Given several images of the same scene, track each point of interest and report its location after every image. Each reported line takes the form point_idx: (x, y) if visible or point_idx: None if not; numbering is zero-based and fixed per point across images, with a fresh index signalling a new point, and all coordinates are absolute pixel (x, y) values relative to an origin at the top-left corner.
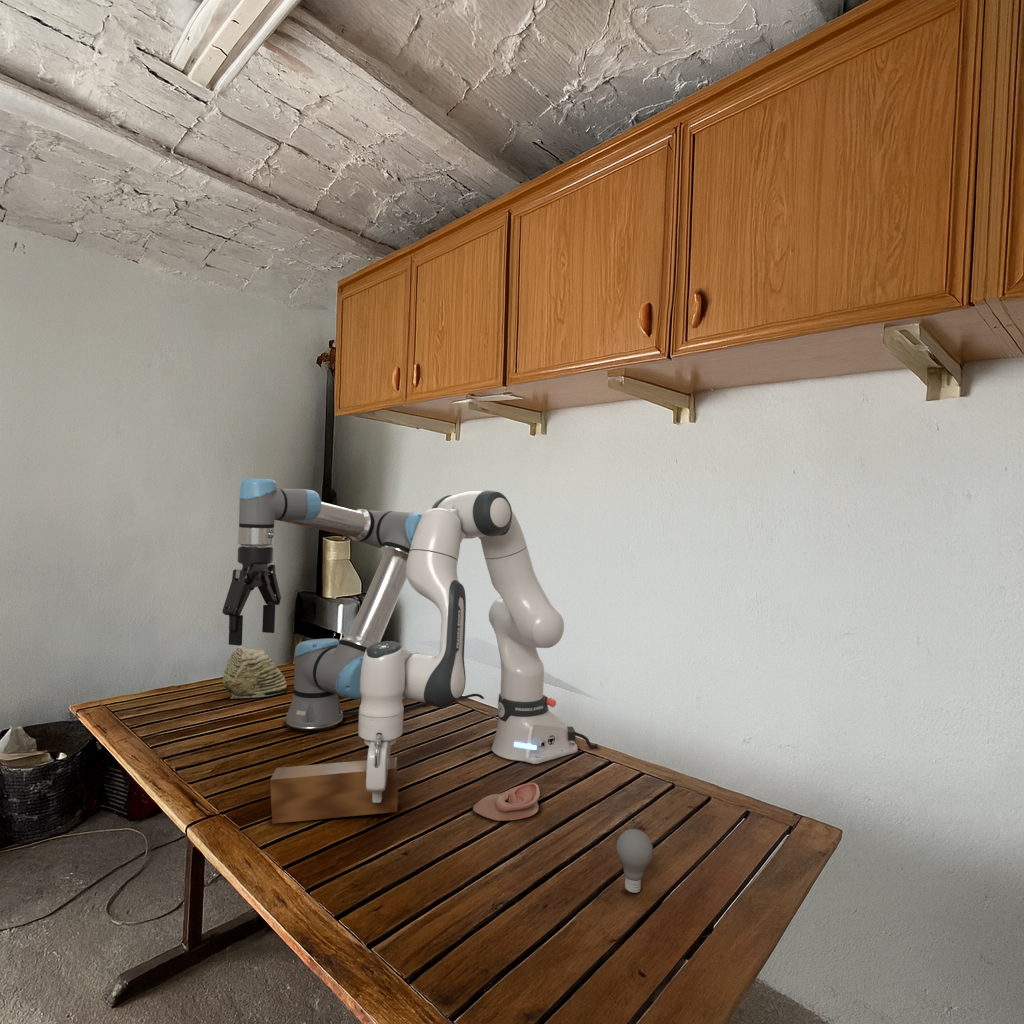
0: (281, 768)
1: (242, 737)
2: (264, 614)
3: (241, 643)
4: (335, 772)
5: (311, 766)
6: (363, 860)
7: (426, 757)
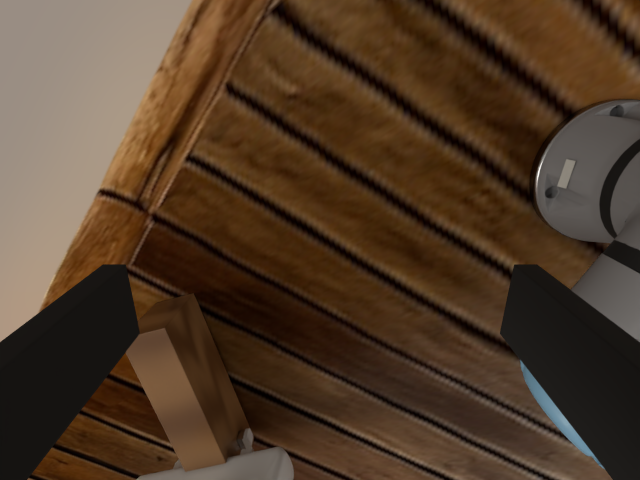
0: (163, 337)
1: (485, 45)
2: (605, 362)
3: (131, 338)
4: (168, 428)
5: (182, 383)
6: (128, 428)
7: (431, 418)
